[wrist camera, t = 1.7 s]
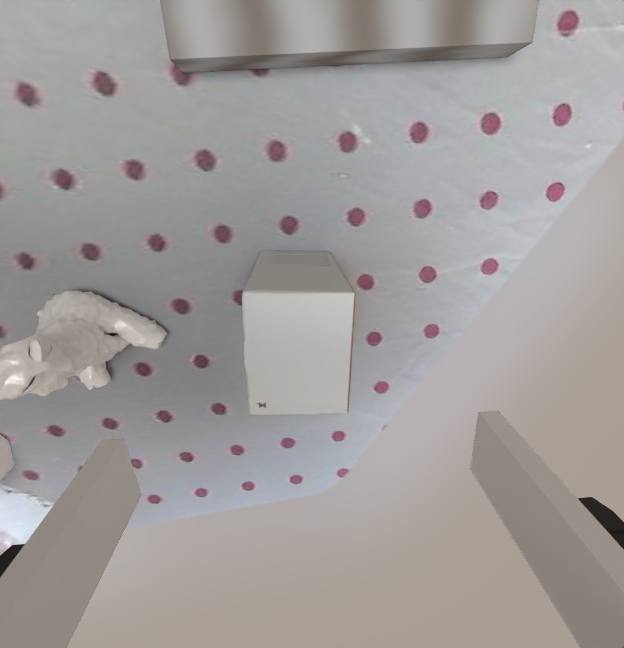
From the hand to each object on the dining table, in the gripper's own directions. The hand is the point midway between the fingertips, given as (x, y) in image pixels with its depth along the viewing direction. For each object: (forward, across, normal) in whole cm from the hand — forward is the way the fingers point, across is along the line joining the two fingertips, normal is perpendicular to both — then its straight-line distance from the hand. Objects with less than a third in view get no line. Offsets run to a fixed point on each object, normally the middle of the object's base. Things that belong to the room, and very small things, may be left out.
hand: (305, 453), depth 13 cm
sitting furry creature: (+21, -18, -2) cm, 28 cm away
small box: (+21, 0, 0) cm, 21 cm away
